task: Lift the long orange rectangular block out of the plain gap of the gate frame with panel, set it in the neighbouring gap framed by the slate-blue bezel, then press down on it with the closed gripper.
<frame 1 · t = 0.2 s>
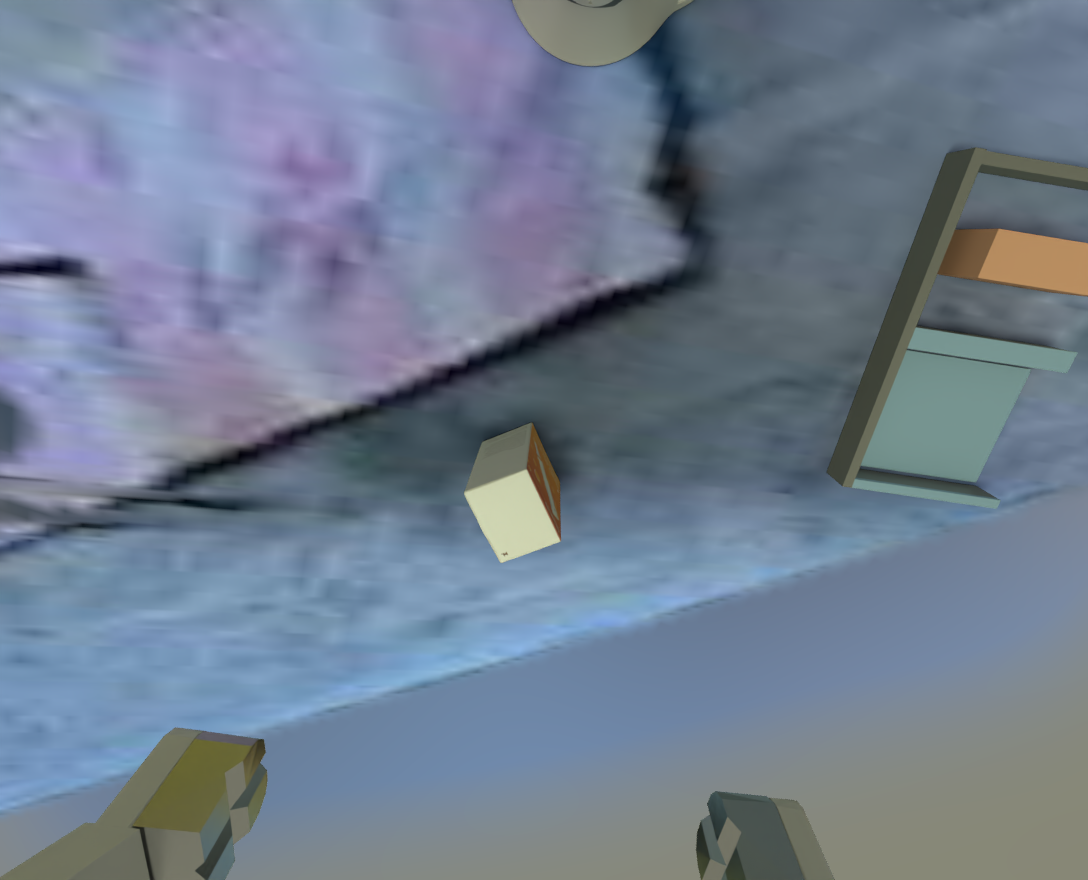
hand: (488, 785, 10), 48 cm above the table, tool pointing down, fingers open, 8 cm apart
long orange rectangular block: (1000, 261, 51), on the table
small box: (521, 460, 59), on the table
gate frame with panel: (965, 343, 54), on the table
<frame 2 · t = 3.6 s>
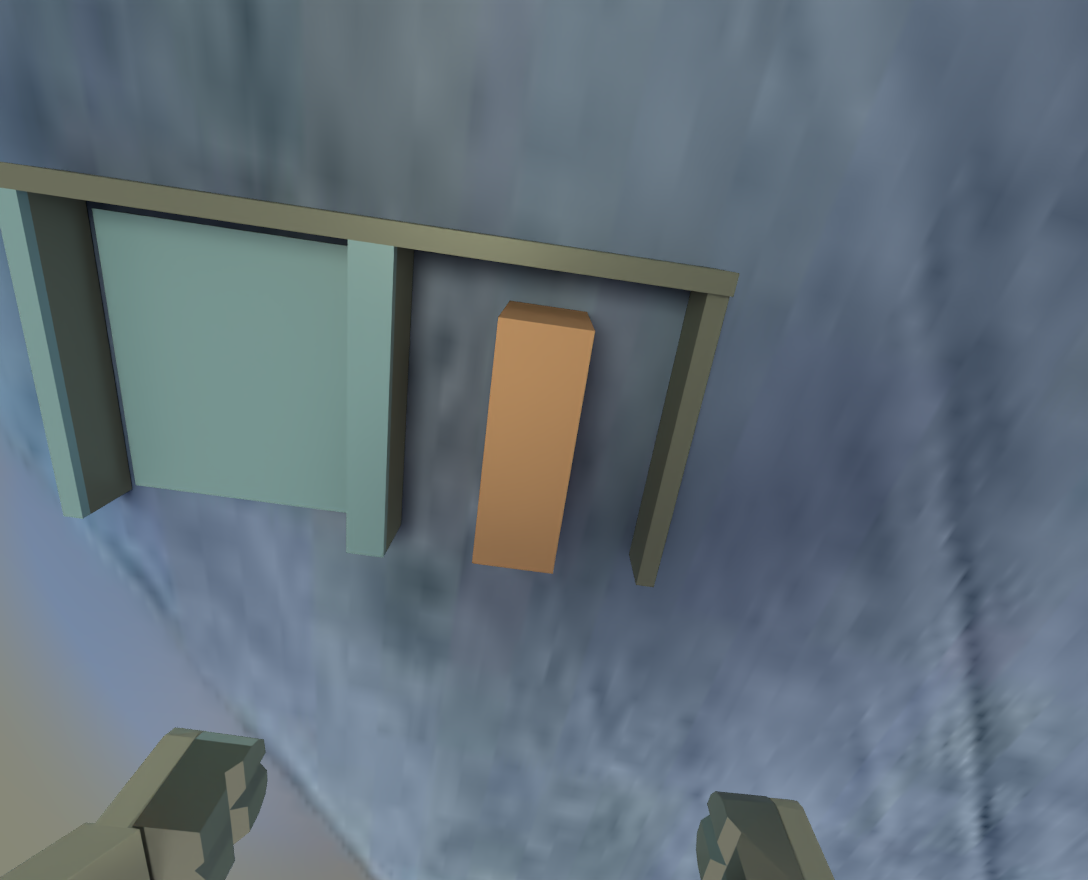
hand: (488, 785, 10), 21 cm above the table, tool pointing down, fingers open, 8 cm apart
long orange rectangular block: (533, 415, 29), on the table
gate frame with panel: (388, 396, 29), on the table
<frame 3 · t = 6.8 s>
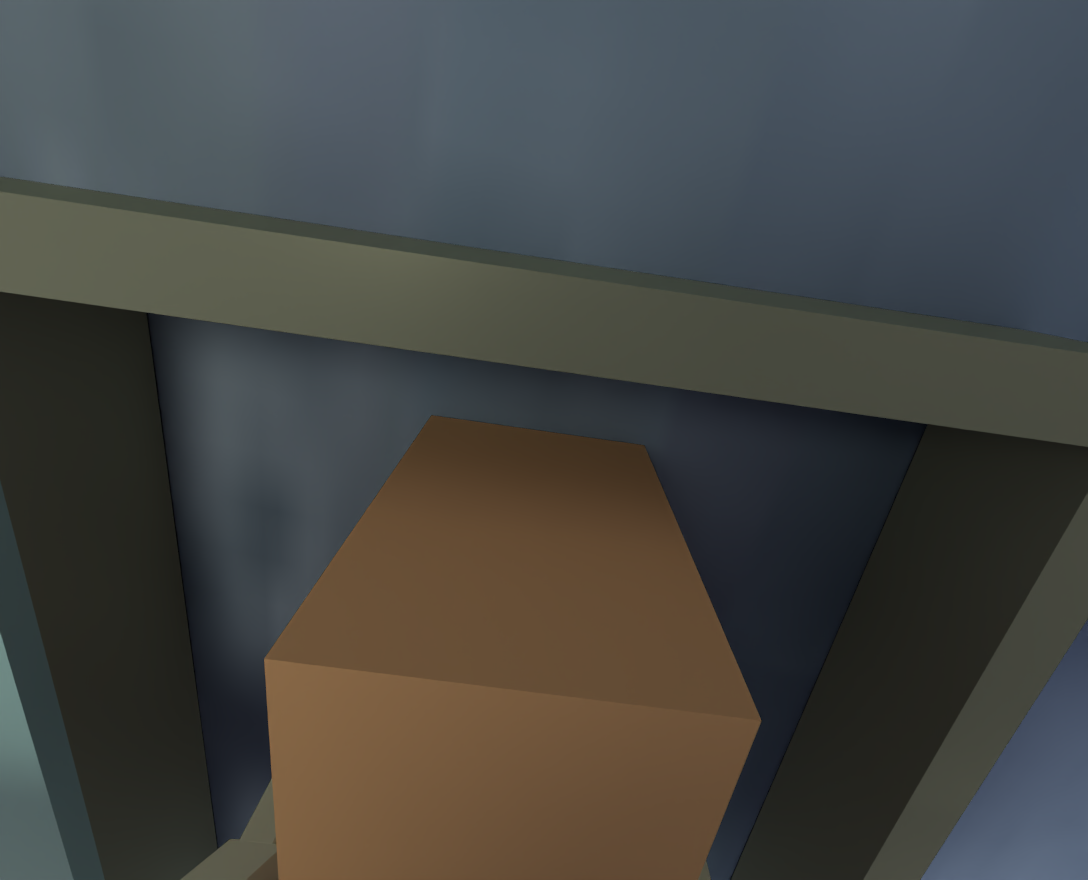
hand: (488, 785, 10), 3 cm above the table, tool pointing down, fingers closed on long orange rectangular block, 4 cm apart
long orange rectangular block: (502, 675, 12), on the table, touching gripper
gate frame with panel: (143, 631, 12), on the table
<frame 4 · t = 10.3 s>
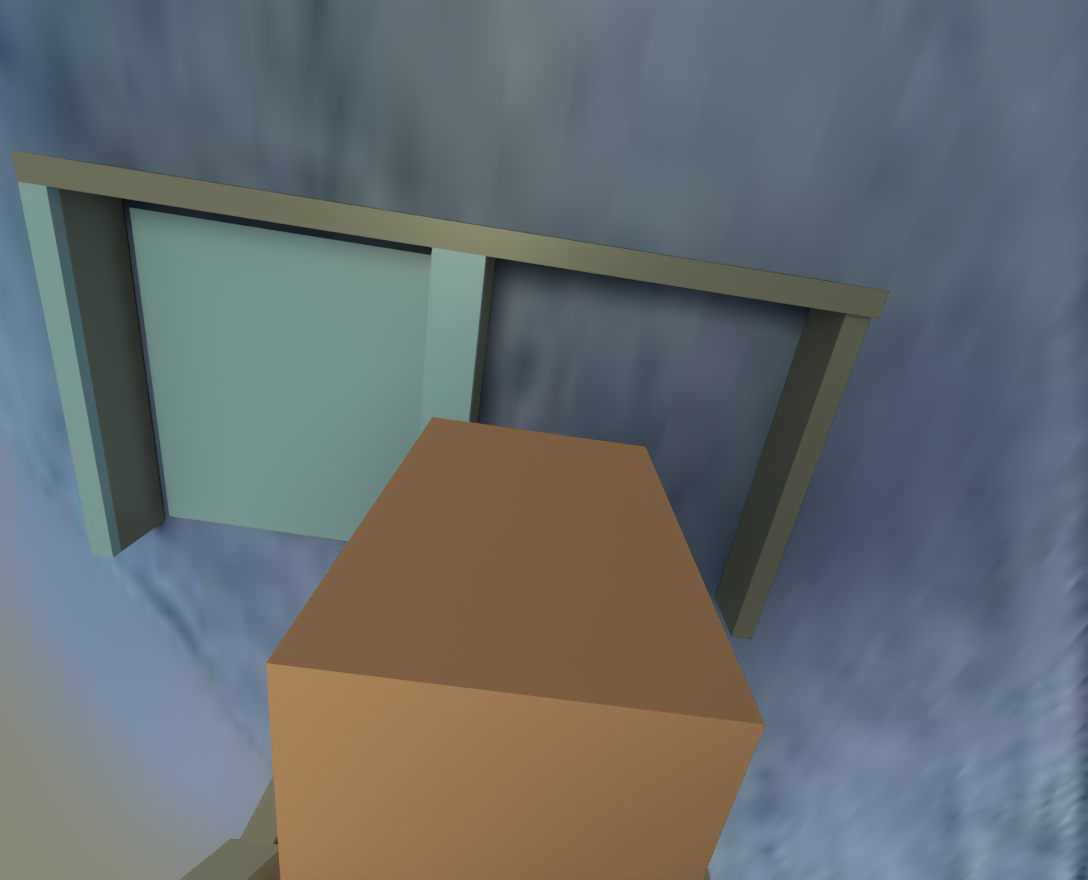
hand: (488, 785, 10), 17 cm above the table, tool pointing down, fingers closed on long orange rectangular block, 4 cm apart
long orange rectangular block: (503, 676, 12), point 15 cm above the table, touching gripper
gate frame with panel: (457, 421, 26), on the table
when the fingers open (4 cm above the table, at t = 13.8 s): long orange rectangular block stays where it is, resting on gate frame with panel.
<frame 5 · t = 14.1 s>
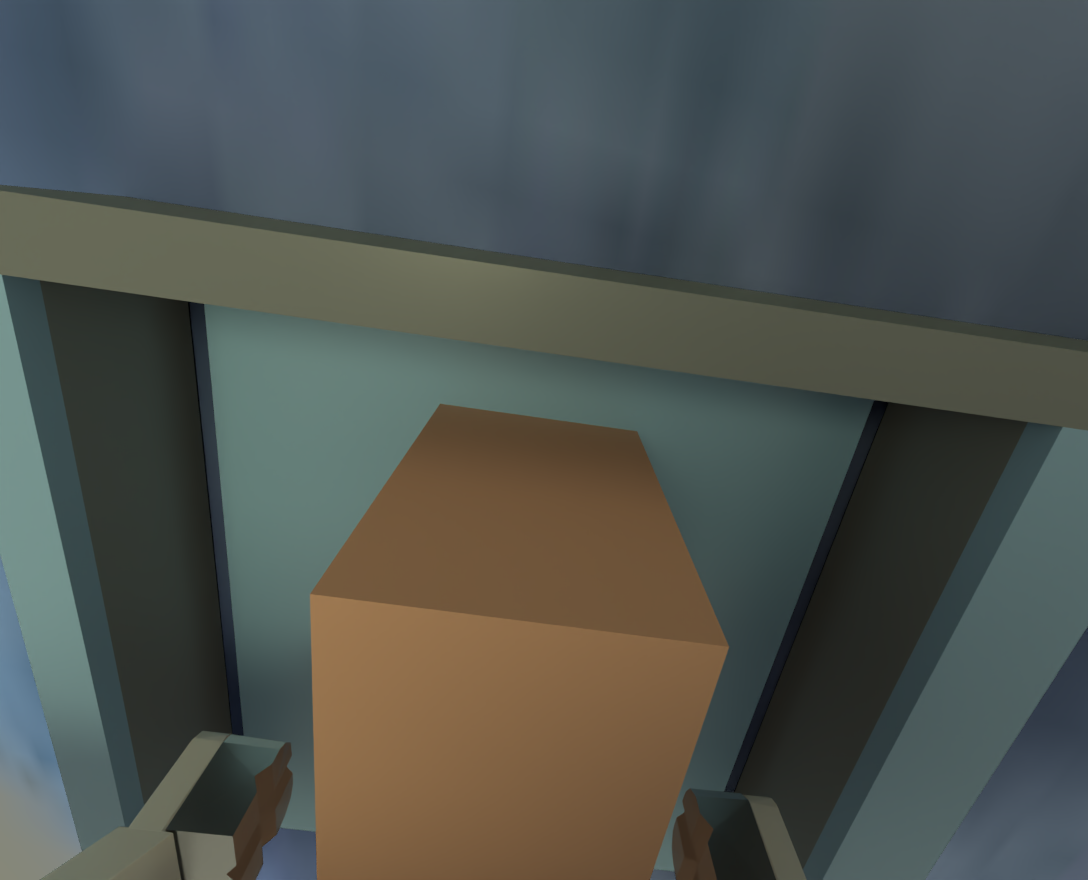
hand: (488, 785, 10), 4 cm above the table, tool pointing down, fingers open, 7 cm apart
long orange rectangular block: (505, 649, 13), resting on gate frame with panel
gate frame with panel: (819, 680, 13), on the table
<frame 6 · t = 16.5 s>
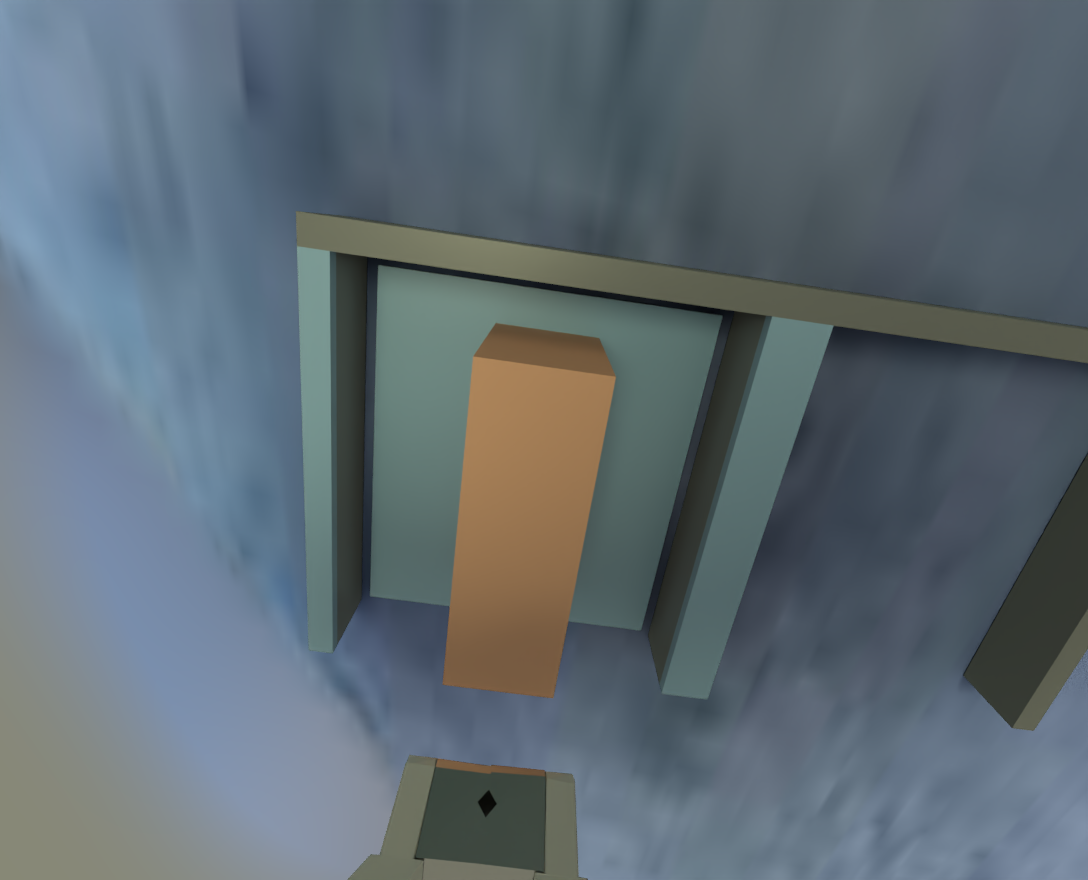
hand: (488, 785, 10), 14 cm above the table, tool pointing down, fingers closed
long orange rectangular block: (527, 471, 22), resting on gate frame with panel
gate frame with panel: (709, 493, 23), on the table
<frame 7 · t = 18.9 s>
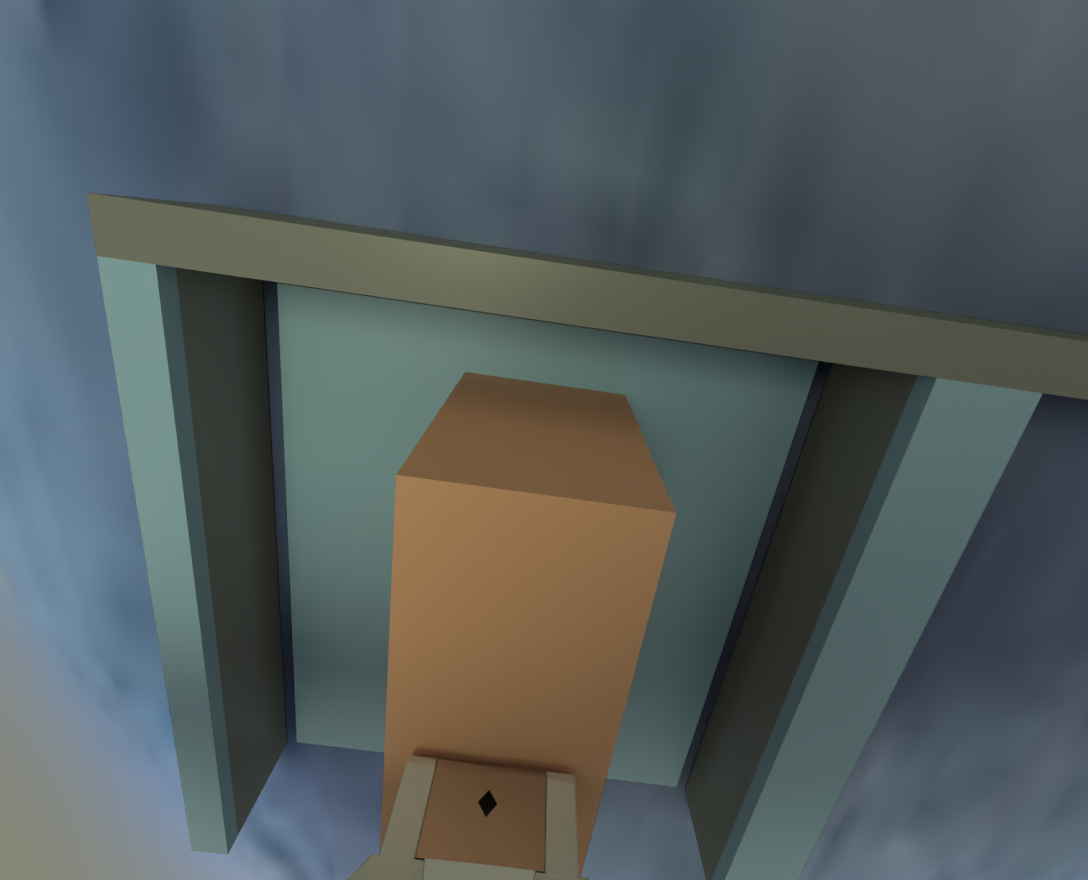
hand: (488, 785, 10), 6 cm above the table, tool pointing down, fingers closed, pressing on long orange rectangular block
long orange rectangular block: (516, 582, 15), resting on gate frame with panel, touching gripper
gate frame with panel: (780, 611, 16), on the table
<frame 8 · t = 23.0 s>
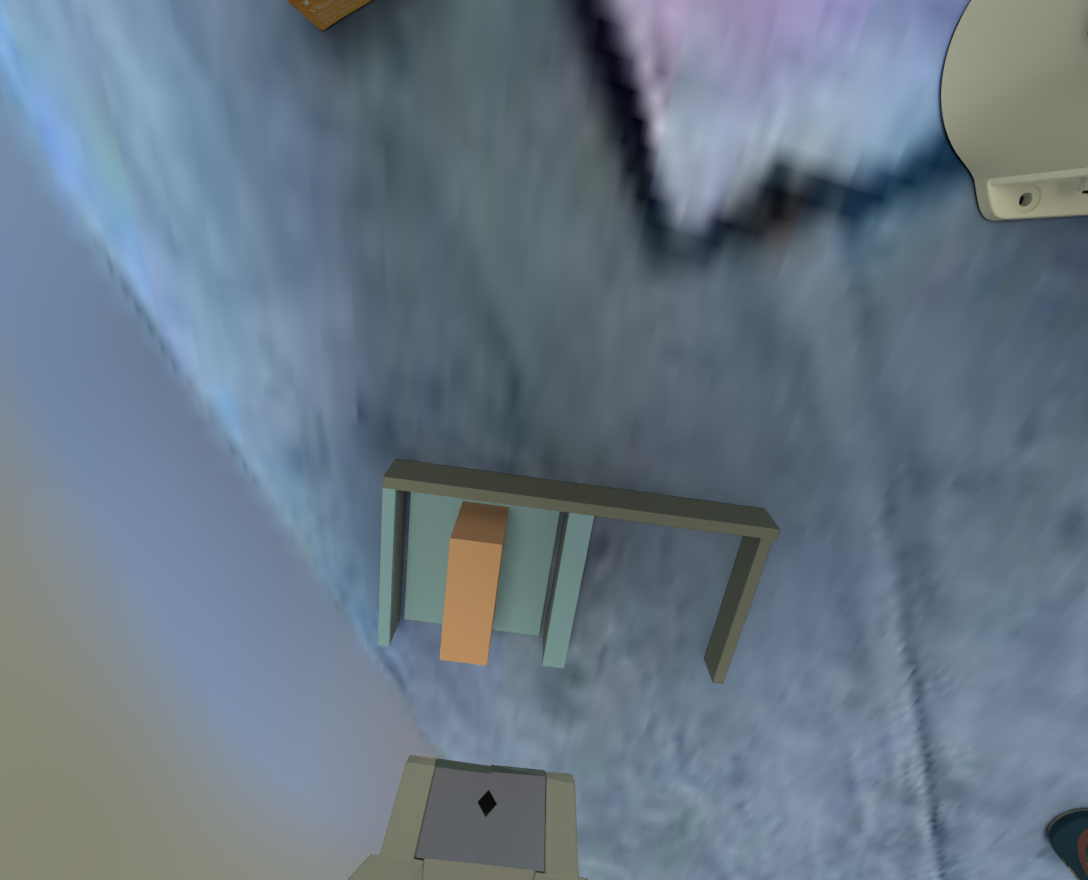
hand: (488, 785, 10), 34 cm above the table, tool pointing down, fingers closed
soda can: (1072, 823, 60), on the table
long orange rectangular block: (479, 561, 48), resting on gate frame with panel
gate frame with panel: (565, 571, 48), on the table
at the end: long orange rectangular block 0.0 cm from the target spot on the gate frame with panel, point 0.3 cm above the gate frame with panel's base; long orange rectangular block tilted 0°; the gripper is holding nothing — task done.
